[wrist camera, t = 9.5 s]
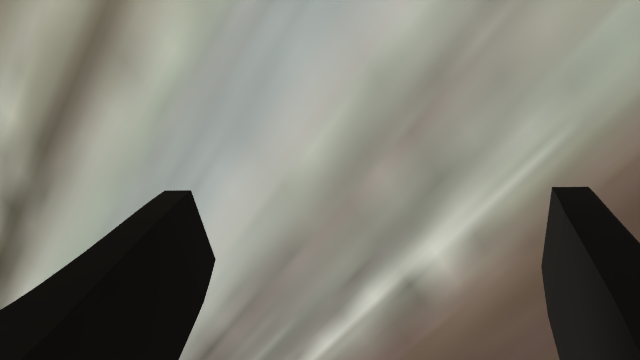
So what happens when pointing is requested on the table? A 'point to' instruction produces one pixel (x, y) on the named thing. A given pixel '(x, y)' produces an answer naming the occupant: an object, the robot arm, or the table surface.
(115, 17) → the table surface
